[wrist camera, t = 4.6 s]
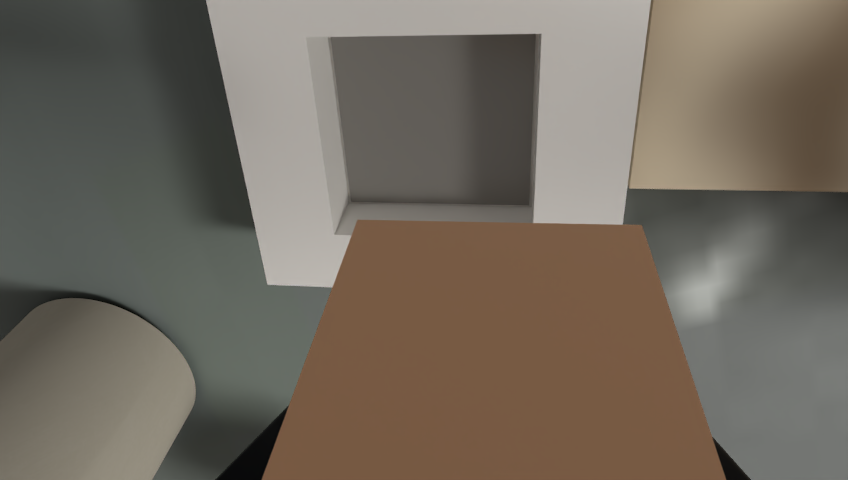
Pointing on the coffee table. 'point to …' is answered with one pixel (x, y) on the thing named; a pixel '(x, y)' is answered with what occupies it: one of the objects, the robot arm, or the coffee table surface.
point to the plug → (495, 361)
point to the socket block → (426, 115)
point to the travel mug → (89, 394)
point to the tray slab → (743, 96)
